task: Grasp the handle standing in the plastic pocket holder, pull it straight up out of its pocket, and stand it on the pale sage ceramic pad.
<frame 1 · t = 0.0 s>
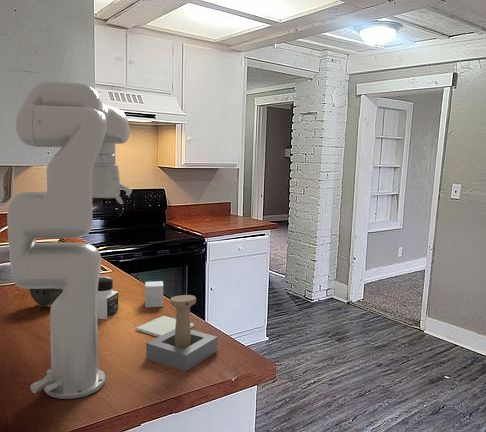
hand: (103, 216, 138), 31 cm above the countertop, tool pointing down, fingers open, 9 cm apart
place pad: (165, 328, 132), on the countertop
pocket holder: (182, 354, 115), on the countertop
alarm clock: (45, 308, 145), on the countertop
product box: (154, 305, 152), on the countertop
medicine bottle: (102, 315, 141), on the countertop
handle: (182, 355, 115), resting in pocket holder
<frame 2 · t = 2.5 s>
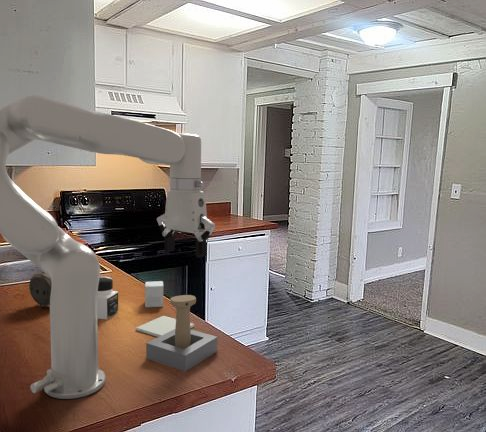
hand: (184, 253, 111), 26 cm above the countertop, tool pointing down, fingers open, 9 cm apart
nothing on the countertop moved.
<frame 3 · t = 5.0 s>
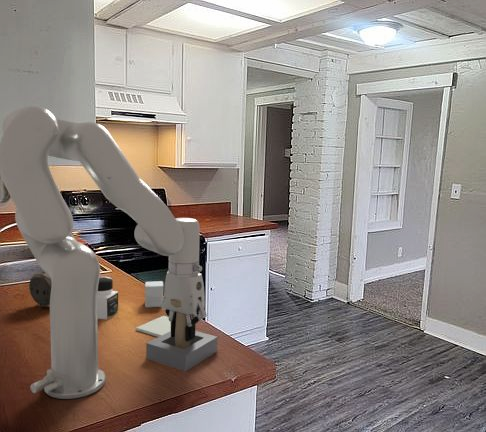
hand: (182, 336, 114), 5 cm above the countertop, tool pointing down, fingers closed on handle, 4 cm apart
handle: (182, 355, 115), resting in pocket holder, touching gripper
everything else where it was.
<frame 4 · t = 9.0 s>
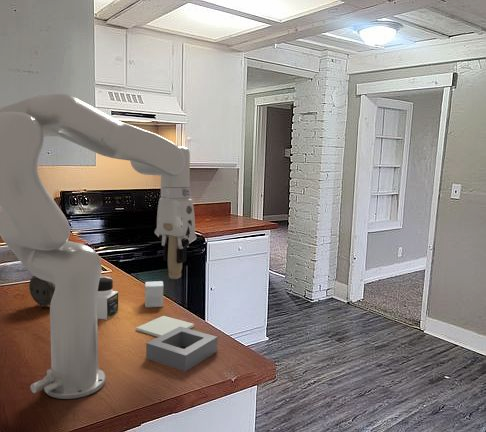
hand: (174, 260, 121), 22 cm above the countertop, tool pointing down, fingers closed on handle, 4 cm apart
handle: (175, 278, 121), point 17 cm above the countertop, touching gripper
everything else where it was.
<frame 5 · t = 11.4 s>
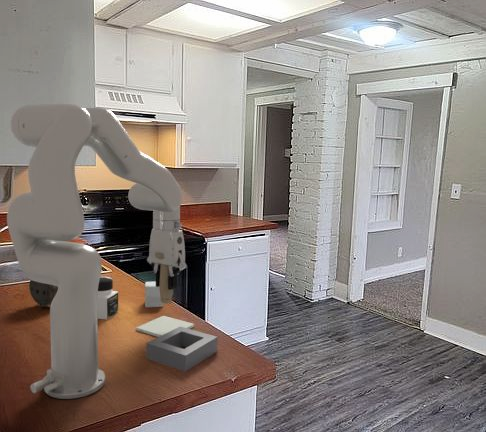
hand: (166, 286, 130), 13 cm above the countertop, tool pointing down, fingers closed on handle, 4 cm apart
handle: (166, 302, 131), point 8 cm above the countertop, touching gripper
everything else where it was.
when the fingers open (6 cm above the countertop, at t = 12.9 s): handle stays where it is, resting on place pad.
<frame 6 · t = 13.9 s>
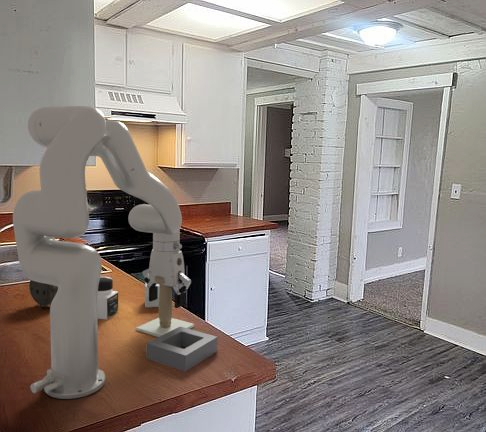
hand: (165, 303, 131), 8 cm above the countertop, tool pointing down, fingers open, 9 cm apart
handle: (165, 326, 131), point 1 cm above the countertop, touching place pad
everything else where it was.
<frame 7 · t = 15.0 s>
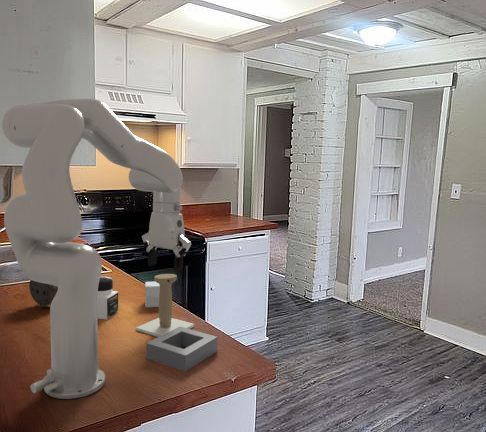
hand: (165, 267, 129), 18 cm above the countertop, tool pointing down, fingers open, 9 cm apart
nothing on the countertop moved.
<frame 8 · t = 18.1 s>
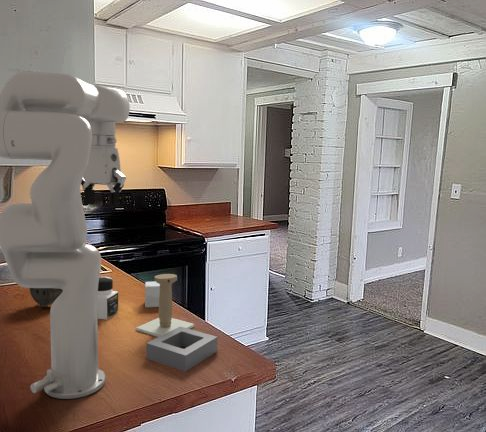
hand: (101, 205, 123), 36 cm above the countertop, tool pointing down, fingers open, 9 cm apart
nothing on the countertop moved.
at the end: handle inside the target area (0.2 cm from its centre), point 0.6 cm above the countertop; handle tilted 0°; the gripper is holding nothing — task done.
